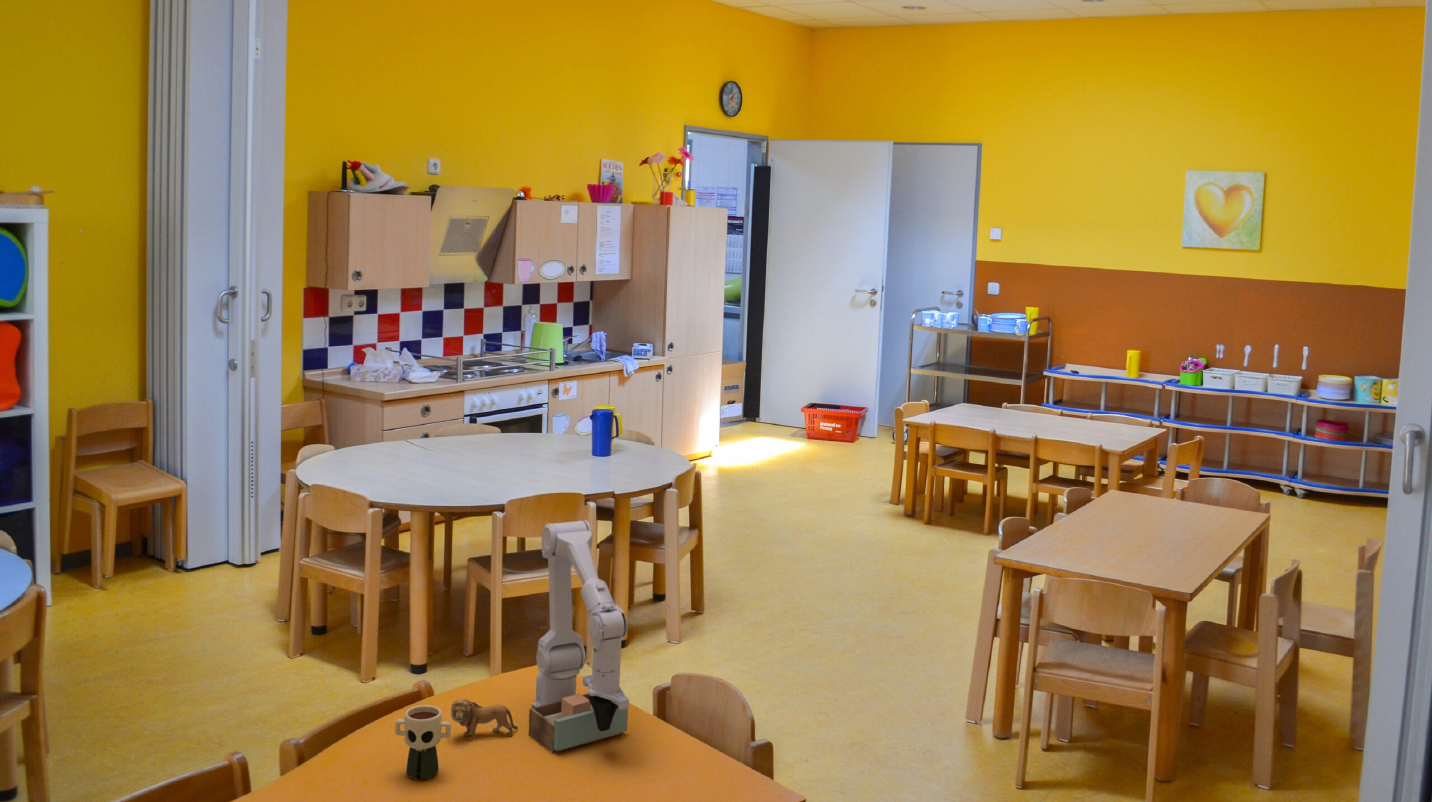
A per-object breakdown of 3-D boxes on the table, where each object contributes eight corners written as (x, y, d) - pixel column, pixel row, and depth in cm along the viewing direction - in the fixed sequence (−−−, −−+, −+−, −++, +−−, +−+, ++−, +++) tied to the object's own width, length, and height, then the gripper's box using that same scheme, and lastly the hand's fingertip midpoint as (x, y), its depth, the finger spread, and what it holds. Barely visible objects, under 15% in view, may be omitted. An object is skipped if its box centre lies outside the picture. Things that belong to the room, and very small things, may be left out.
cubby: (528, 734, 253) (529, 708, 252) (597, 716, 264) (598, 690, 263) (552, 753, 245) (553, 725, 244) (623, 733, 256) (624, 707, 255)
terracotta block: (560, 724, 255) (561, 698, 254) (578, 719, 258) (579, 693, 257) (571, 732, 251) (572, 705, 250) (589, 727, 254) (590, 700, 253)
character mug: (389, 781, 230) (390, 718, 228) (399, 763, 237) (400, 703, 235) (445, 784, 230) (447, 721, 228) (453, 766, 237) (455, 705, 235)
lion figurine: (453, 746, 246) (454, 705, 244) (447, 735, 250) (447, 695, 249) (521, 735, 252) (522, 695, 251) (513, 725, 257) (515, 686, 256)
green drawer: (530, 731, 252) (531, 703, 251) (600, 712, 263) (601, 685, 262) (556, 750, 244) (557, 721, 243) (627, 730, 255) (628, 702, 254)
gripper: (571, 659, 246) (568, 720, 249) (609, 683, 235) (606, 747, 237) (599, 653, 251) (597, 713, 253) (638, 676, 240) (635, 738, 242)
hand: (603, 729), depth 246 cm, fingers closed
